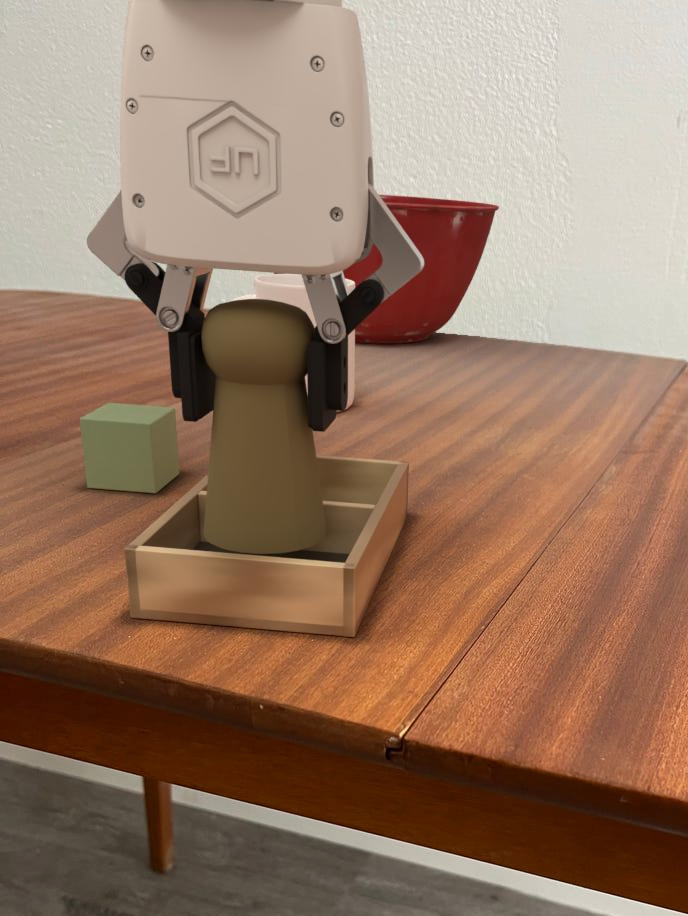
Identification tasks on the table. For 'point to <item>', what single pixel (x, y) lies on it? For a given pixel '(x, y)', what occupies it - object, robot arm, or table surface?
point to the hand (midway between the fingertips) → (261, 415)
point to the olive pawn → (261, 430)
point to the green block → (130, 447)
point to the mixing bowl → (426, 267)
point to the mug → (295, 293)
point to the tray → (275, 559)
